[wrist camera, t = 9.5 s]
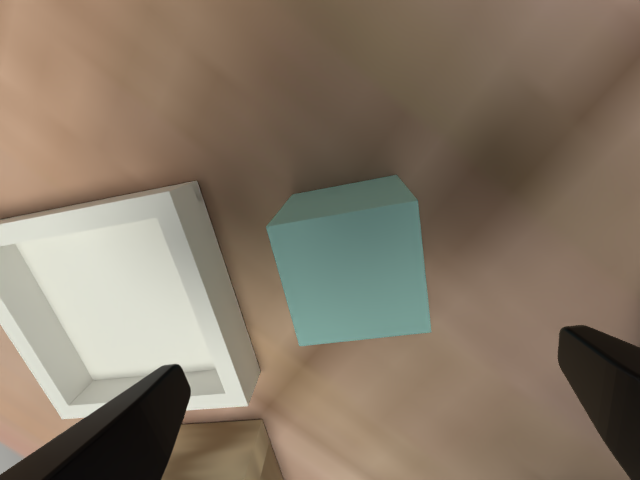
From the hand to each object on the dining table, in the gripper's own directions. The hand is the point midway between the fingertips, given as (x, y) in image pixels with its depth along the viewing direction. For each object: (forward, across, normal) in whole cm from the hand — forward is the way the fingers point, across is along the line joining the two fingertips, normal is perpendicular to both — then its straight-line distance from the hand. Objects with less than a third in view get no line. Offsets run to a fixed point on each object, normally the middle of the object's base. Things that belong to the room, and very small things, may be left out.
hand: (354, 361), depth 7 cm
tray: (+9, +13, +2) cm, 16 cm away
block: (+9, 0, 0) cm, 9 cm away
